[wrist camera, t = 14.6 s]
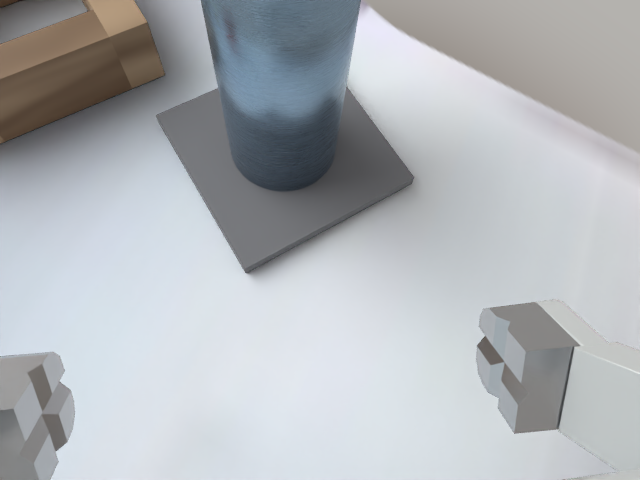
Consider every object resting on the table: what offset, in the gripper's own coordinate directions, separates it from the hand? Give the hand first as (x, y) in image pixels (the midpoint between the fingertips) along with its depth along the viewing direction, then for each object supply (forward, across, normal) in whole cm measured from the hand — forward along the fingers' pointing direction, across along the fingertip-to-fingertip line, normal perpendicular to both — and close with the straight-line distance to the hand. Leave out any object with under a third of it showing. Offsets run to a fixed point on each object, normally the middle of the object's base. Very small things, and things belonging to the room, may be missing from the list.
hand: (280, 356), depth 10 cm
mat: (+16, -1, 0) cm, 16 cm away
